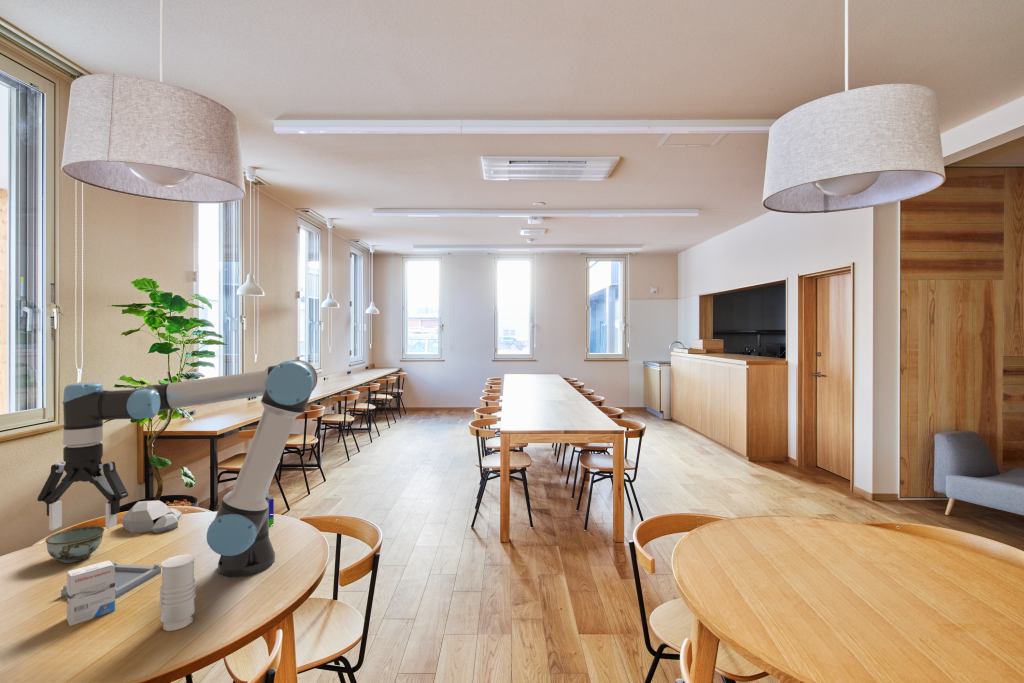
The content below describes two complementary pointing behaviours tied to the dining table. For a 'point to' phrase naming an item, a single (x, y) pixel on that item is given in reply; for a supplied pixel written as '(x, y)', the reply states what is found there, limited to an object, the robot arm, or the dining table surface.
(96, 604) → the ink box
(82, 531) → the bowl
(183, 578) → the white ribbed cylinder
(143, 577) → the grey square tray
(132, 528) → the rock
